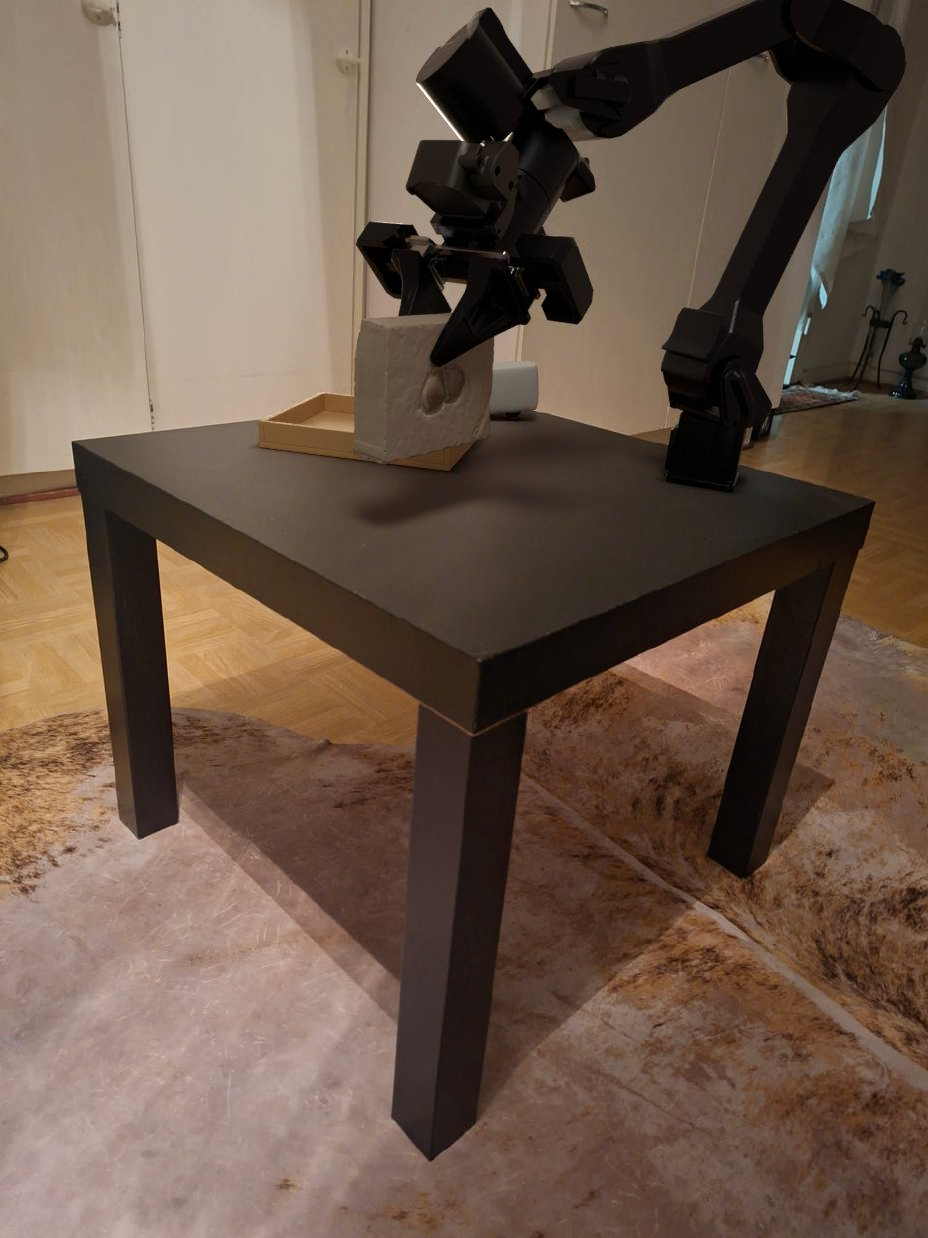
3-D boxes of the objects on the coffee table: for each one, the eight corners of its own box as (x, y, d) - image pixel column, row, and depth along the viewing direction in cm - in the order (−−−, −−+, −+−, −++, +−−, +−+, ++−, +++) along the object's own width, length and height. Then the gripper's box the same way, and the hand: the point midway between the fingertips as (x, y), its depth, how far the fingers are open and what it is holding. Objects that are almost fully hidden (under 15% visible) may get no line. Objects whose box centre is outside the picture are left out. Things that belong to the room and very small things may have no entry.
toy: (412, 434, 98) (542, 428, 97) (408, 378, 95) (541, 372, 94) (420, 413, 109) (536, 408, 108) (417, 362, 106) (536, 357, 105)
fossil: (386, 466, 59) (389, 324, 55) (351, 455, 61) (351, 316, 57) (491, 439, 67) (502, 314, 63) (458, 429, 69) (465, 307, 65)
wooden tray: (482, 433, 95) (484, 410, 94) (449, 471, 79) (450, 444, 78) (321, 414, 98) (321, 391, 97) (258, 447, 82) (257, 420, 81)
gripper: (374, 100, 62) (262, 262, 59) (594, 94, 52) (474, 289, 49) (437, 222, 71) (344, 368, 68) (635, 236, 61) (536, 408, 58)
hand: (414, 359), depth 60 cm, fingers closed on fossil, 3 cm apart
